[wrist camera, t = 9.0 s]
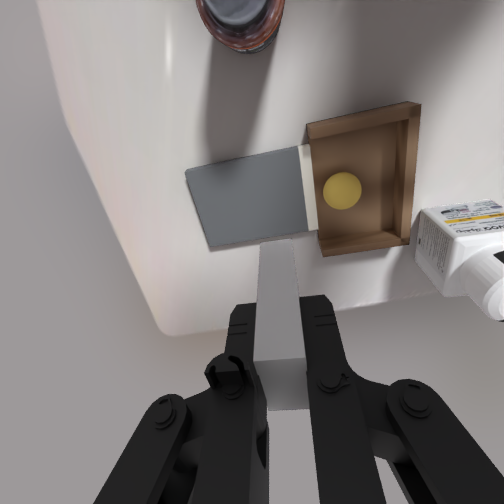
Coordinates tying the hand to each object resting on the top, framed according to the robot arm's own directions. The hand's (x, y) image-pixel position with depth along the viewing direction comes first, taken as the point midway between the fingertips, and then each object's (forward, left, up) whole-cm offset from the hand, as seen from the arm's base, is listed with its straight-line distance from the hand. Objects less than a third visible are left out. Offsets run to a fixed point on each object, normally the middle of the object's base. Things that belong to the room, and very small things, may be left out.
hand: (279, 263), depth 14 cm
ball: (+4, +7, -19) cm, 20 cm away
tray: (+5, +9, -21) cm, 23 cm away
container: (+13, +20, -21) cm, 32 cm away
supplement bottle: (-13, 0, -21) cm, 25 cm away
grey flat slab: (+4, -3, -21) cm, 21 cm away
